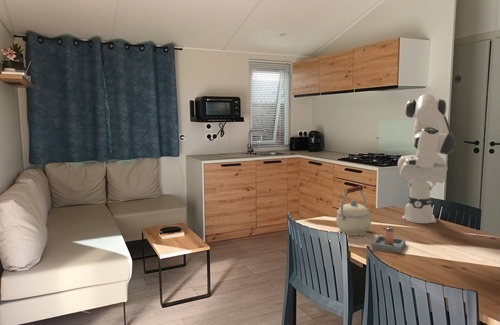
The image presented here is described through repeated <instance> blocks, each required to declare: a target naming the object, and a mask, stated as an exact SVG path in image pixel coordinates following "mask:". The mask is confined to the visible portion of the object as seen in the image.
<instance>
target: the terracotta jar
mask: <svg viewBox="0 0 500 325" xmlns="http://www.w3.org/2000/svg"><path fill="white" fill-rule="evenodd" d="M394 232H395V231H394V228H393V227H385V228H384V236H385V241H384V244H386V245H392V246H393V238H394Z"/></svg>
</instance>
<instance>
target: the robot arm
mask: <svg viewBox="0 0 500 325" xmlns="http://www.w3.org/2000/svg"><path fill="white" fill-rule="evenodd" d="M404 105H405V106H404V114H405V116H406V117H407V118H415V121H414V124H413V129H412V142H411V144H412V146H413V148H415V150H417V151H416V153H415V155H414V154H409V155H402V156H400V158H398V161H397V168H398V170H399V176H400V178H402V179H406V181H407V188H409V195H408V198H407V199H408V203H407V204H405V210H404V215H402V216H401V219H403V220H405V221H408V222H411V223H415V224H432V223H433V224H434V223H437V219H436V218H435V215H434V213H433V210H434V208H433V207H432V205H431V201H432V198H431V191H432V190H433V187H434V186H436V184H437V183H440V184H443V183H445V181H446V173H447V171H448V166H447V163H446V161H445V158H443V157H442V156H440V154H442V155H448V154H451V153H453V152H454V151H455V150H456V149H455V148H456V144H457V142H456V137H455V136H454V134H453V132H452V130H451V128H450V124H449V121H448V118H447V116H446V113H447V110H448V106H447V103H446V101H445V100H444V99H441V98H440V99H439V98H438V99H436V97H435V96H434V95H432V94H431V93H424V94H422V95H420V96H419V97H418V98H417V99H410V100H408V101H407V102H406V103H405V104H404ZM429 182H431V183H432V184H430V183H429Z"/></svg>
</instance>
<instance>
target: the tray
mask: <svg viewBox="0 0 500 325" xmlns="http://www.w3.org/2000/svg"><path fill="white" fill-rule="evenodd" d="M384 241H385V235H379V234H378V235H377V236H376V237H375V238H374V239H373V240H372V242H371V249H376V250H379V251H380V250H381V251H387V252H393V253H397V254H401V253H402V251H403V250H404V248H405V247H406V245H407V244H406V241H407V240H406V239H404V238H397V237H393V246H392V245H386V244H384Z"/></svg>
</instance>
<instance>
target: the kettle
mask: <svg viewBox="0 0 500 325" xmlns="http://www.w3.org/2000/svg"><path fill="white" fill-rule="evenodd" d="M363 190H364V185H358V186H352V187H350V188H349V187H348V188H345V189H344V197H343V200H342V202H341V204H340V207H339V208H338V209H337V210H336V214H337V215H336V219H335V224H336V226H337V227H338V229H339V232H340V233H341V232H344V233H347V234H348V235H347V236H352V235H354V236H356V237H358V235H360V236H364V235H366V234H367V231H369V229H370V228H371V225H372V220H371V217H370V216H371V212H370V211H369V207H366V205H367V204H366V203H367V200H366V196H365V195H364V192H363ZM359 191H360V192H359ZM355 192H359V193H360V195H361V197H362V198H363V203H362V204H359V203H358V201H357V200H356V199H352V200H351V201H349V202H350V203H346V204H345V202H346V201H347V198H348V195H349V194H352V193H355Z"/></svg>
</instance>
